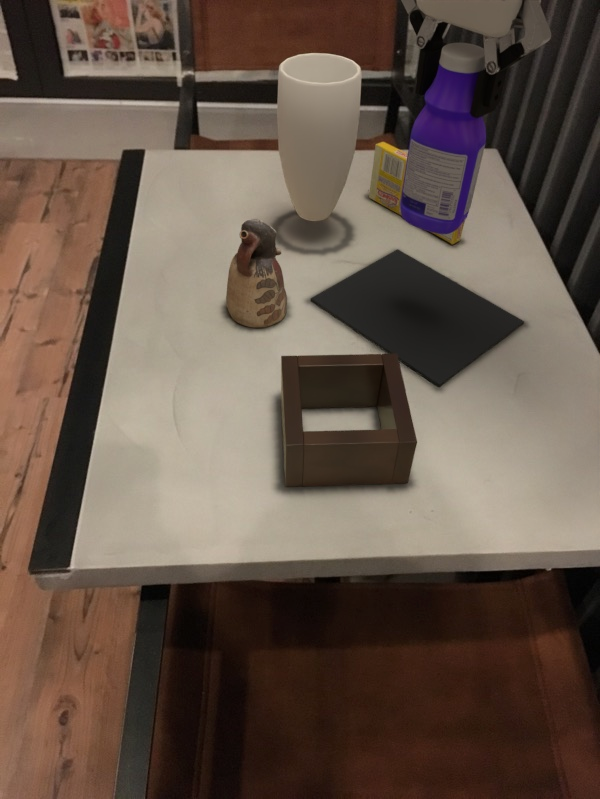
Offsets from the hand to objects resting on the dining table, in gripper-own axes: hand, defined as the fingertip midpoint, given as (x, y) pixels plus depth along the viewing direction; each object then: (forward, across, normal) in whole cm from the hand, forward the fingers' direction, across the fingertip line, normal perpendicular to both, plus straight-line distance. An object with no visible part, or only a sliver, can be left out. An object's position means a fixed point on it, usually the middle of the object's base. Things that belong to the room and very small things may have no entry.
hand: (455, 100), depth 64 cm
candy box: (+26, +14, -16) cm, 33 cm away
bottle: (+13, 0, 0) cm, 13 cm away
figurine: (+26, +13, +14) cm, 32 cm away
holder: (+25, -8, +21) cm, 34 cm away
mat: (+25, 0, 0) cm, 25 cm away
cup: (+26, +21, -3) cm, 33 cm away
